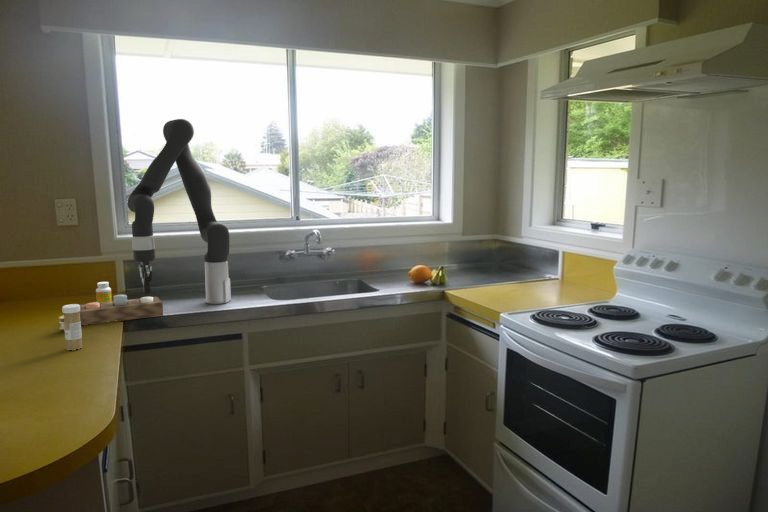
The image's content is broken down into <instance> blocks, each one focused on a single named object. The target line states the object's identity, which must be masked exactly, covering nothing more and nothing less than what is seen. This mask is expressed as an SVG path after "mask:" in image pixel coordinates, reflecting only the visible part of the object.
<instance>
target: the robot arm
mask: <svg viewBox="0 0 768 512" xmlns="http://www.w3.org/2000/svg"><path fill="white" fill-rule="evenodd" d="M162 134H163V138H164V140H165V142H166V143H165V144H164V146H163V147H162V149H161V151H160V152H159V153H158V154H157V156H156V157H154V159H153V160H152V162H151V163H150V164H149V166H148V168H147V169H146V171H145V172H144V174H143V177H142V178H141V180H140V182H139V183H138V184H137V186H136V187H135V188H134V189H133V190H132V192H131V193H130V195H129V197H128V199H127V203H126V204H127V208H128V210H129V211H131V212H132V213H134V221H132V222H131V232H132V233H131V234H132V239H131V240H132V241H131V243H132V244H131V246H132V254H133V255H132V256H133V261H134V262H136V263H138V262H139V263H140V264H139V265H138V270H139V275H140V281H141V283H142V286H143V287H142V288H143V289H142V290H143V293H144V294H145V295H146V294H147V295H148V294H151V291H152V290H151V283H152V276H153V266H152V265H151V264H150V262H153V261H155V260H156V259H157V258H156V248H155V247H156V246H155V238H154V230H153V229H154V228H153V221H154V214H155V204H154V200H153V199H152V197H153V195H155V194H156V193H158V192H160V190H161V188H162V186H163V185H164V182H165V181H166V179H167V176H168V174H169V173H170V171H171V169H172V167H173V166H174V164H176V168H177V169H178V172H179V175H180V177H181V181H182V183H183V188H184V190H185V192H186V195H187V197H188V199H189V202H190V203H189V204H190V205H191V207H192V210H193V213H194V215H195V219H196V222H197V226H198V231H199V234H200V238H202V240H203V242H205V243H206V244H207V252H206V253H205V254H204V256H203V257H204V258H203V260H204V278H205V279H204V282H205V302H206V303H207V304H211V305H218V304H221V305H222V304H228V303H229V302H230V301H231V298H232V297H231V296H232V294H231V292H232V291H231V278H230V277H229V258H228V257H229V254H230V231H229V229H228V227H227V225H225V224H224V223H221V222H218V221H217V219H216V217H215V214H214V210H213V208H212V191H211V186H210V184H209V180H208V177H207V174H206V173H205V171H204V169H203V168H202V166H201V165H200V164H199V162H198V161H197V159H195V157H194V155H193V153H192V150H191V148H190V145H189V143H190V142H191V141H192V139H193V137H194V135H195V129H194V125H193V124H192V123H191V121H189V120H187V119H185V118H184V119H183V118H176V119H172V120H169V121H167V122H165V123H164V125H163V128H162Z"/></svg>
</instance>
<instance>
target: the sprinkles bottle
mask: <svg viewBox="0 0 768 512" xmlns="http://www.w3.org/2000/svg"><path fill="white" fill-rule="evenodd" d="M80 305H81V304H78V303H71V304H65V305H63V306H62V308H61V311H62V314H63V315H64V329H63V330H64V340H65V351H69V350H72V351H77V350H76V349H78V350H81V349H82V348H83V346H84V345H83V339H82V338H83V336H82V335H83V334H82V333H83V332H82V326H81V321H80ZM80 348H81V349H80Z"/></svg>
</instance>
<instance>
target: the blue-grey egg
mask: <svg viewBox="0 0 768 512" xmlns="http://www.w3.org/2000/svg"><path fill="white" fill-rule="evenodd" d="M112 297H113V301H114V306H119V305H127V300H128V296H127V294H116V295H113V296H112Z"/></svg>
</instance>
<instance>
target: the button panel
mask: <svg viewBox="0 0 768 512" xmlns="http://www.w3.org/2000/svg"><path fill="white" fill-rule="evenodd" d="M152 297H153V302H146V303H141V300H140V298H133V299H127V305H119V306H114V300H112V302H103V303H100V308H92V309H86V304H87V303H85V304H79V305H80V321H81V325H83V326H89V325H88V324H91V325H97V324H96V323H99V324H103V323H102V322H107V323H109V322H108V321H115V320H120V321H129V320H138V319H145V318H152V317H153V318H154V317H160V316H164V306H163V305H164V304H163V301H162V300H161V299H160V298H159V297H158V296H152ZM120 321H119V322H120ZM115 322H116V321H115Z"/></svg>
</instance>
